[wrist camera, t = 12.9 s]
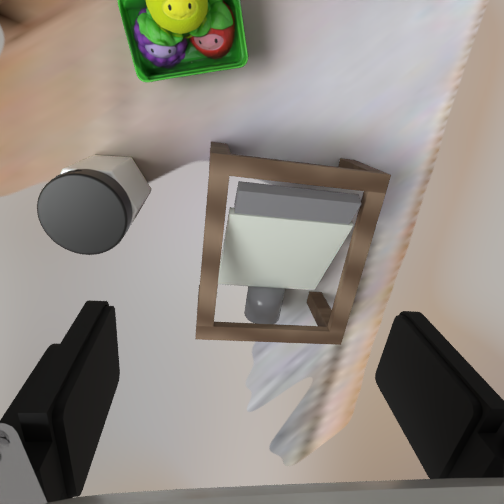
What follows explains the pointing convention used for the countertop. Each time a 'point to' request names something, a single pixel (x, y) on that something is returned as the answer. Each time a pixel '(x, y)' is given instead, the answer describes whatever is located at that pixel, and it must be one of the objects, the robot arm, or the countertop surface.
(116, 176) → the jar
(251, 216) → the trapdoor
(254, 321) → the metal canister
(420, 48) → the countertop surface
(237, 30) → the fruit basket
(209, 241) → the trapdoor frame
